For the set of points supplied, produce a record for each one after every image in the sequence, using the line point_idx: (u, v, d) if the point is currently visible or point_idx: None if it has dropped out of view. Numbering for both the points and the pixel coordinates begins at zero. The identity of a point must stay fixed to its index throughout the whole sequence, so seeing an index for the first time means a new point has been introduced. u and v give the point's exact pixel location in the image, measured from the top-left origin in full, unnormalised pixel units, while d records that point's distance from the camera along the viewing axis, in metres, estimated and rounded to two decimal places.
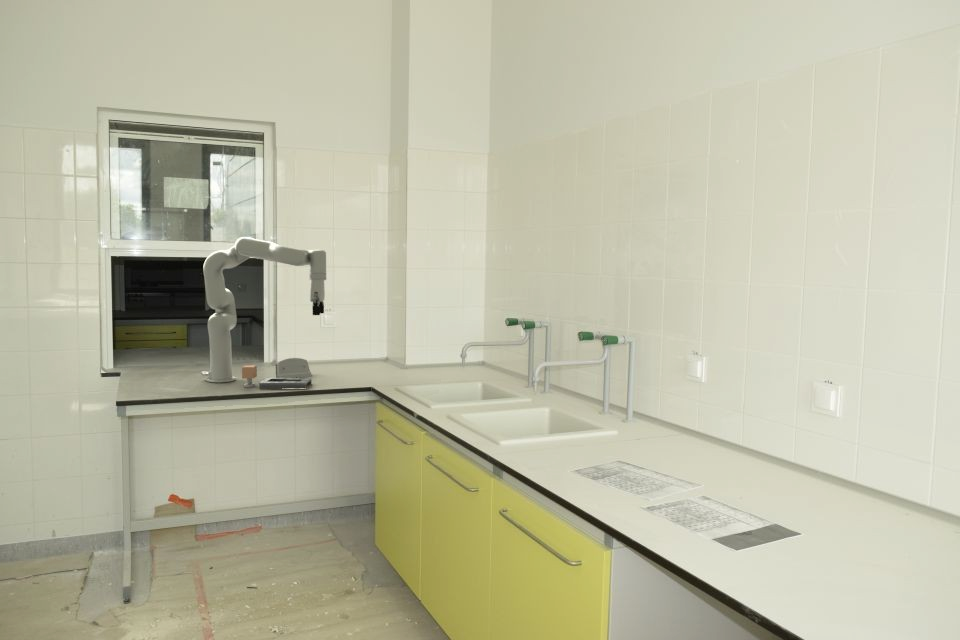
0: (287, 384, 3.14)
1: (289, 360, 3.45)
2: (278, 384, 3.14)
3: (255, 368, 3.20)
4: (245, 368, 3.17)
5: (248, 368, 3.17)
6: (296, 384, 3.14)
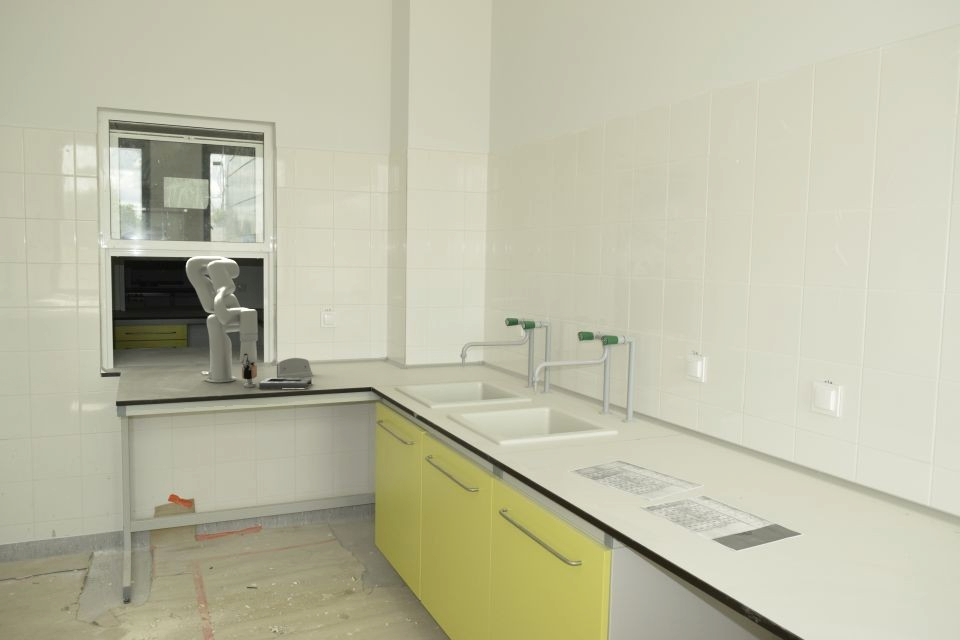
0: (287, 384, 3.14)
1: (290, 360, 3.45)
2: (278, 384, 3.14)
3: (255, 368, 3.20)
4: None
5: None
6: (296, 384, 3.14)
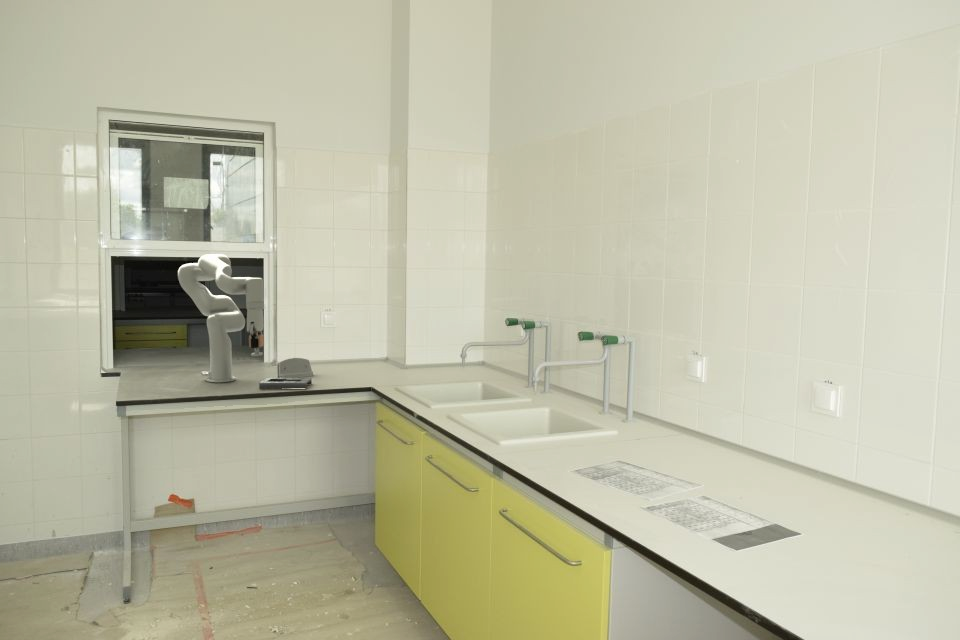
0: (287, 384, 3.14)
1: (291, 360, 3.45)
2: (278, 384, 3.14)
3: (262, 337, 3.19)
4: None
5: None
6: (296, 384, 3.14)
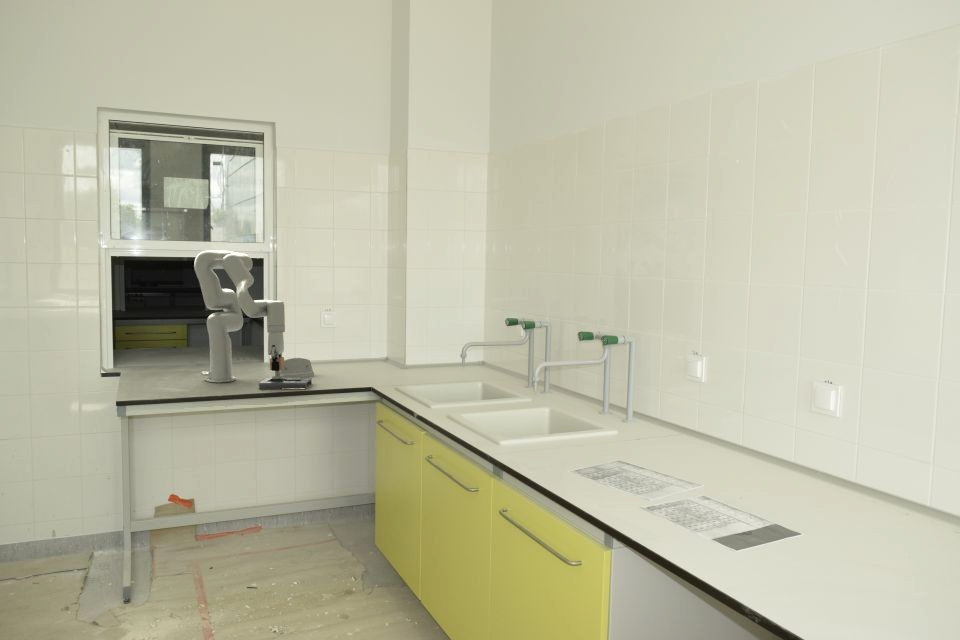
0: (287, 384, 3.14)
1: (292, 360, 3.45)
2: (278, 384, 3.14)
3: (283, 360, 3.20)
4: None
5: None
6: (296, 384, 3.14)
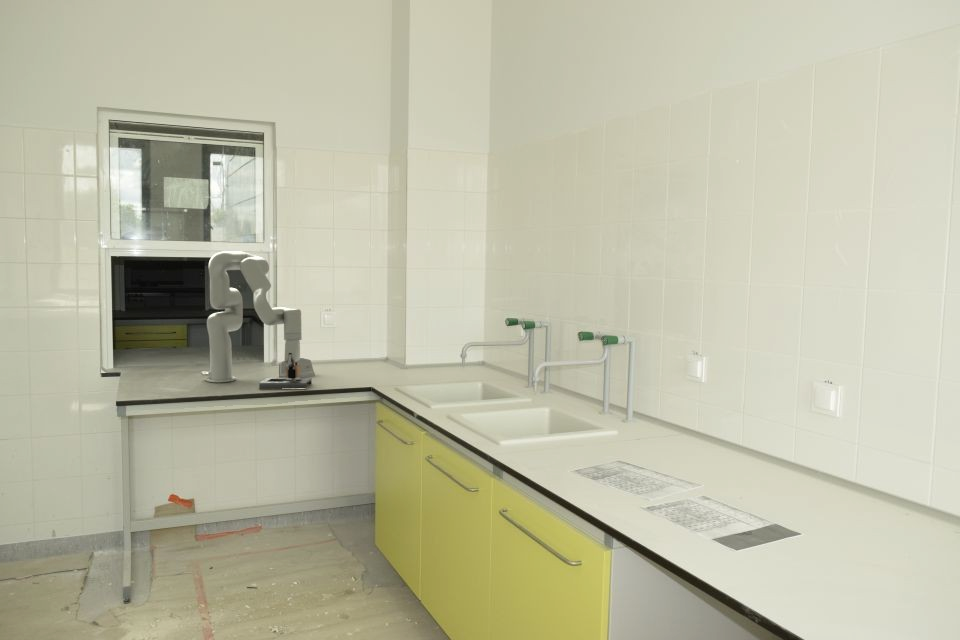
0: (287, 384, 3.14)
1: None
2: (278, 384, 3.14)
3: (299, 367, 3.21)
4: None
5: None
6: (296, 384, 3.14)
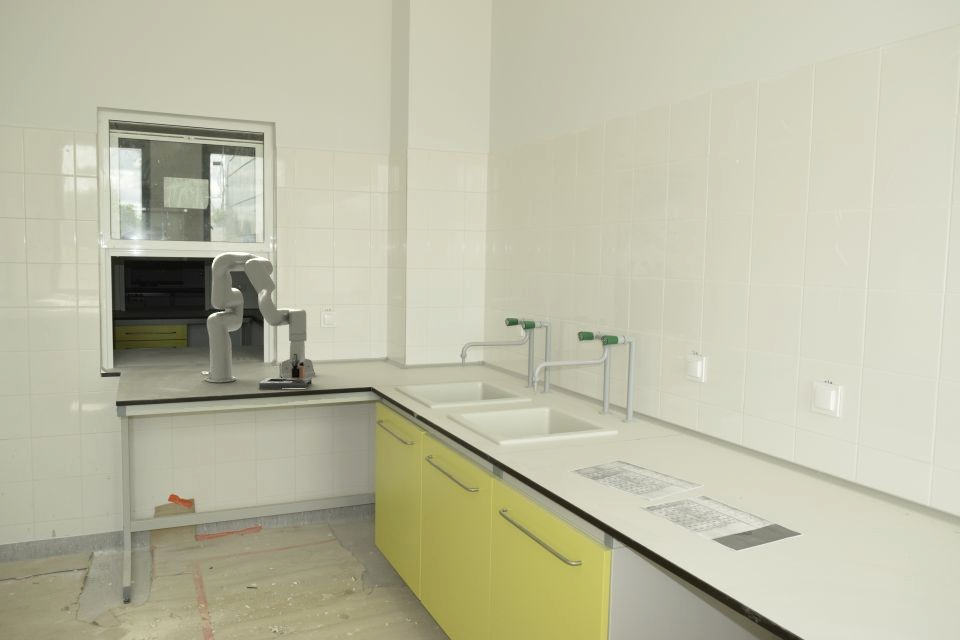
0: (287, 384, 3.14)
1: None
2: (278, 384, 3.14)
3: (304, 368, 3.21)
4: None
5: None
6: (296, 384, 3.14)
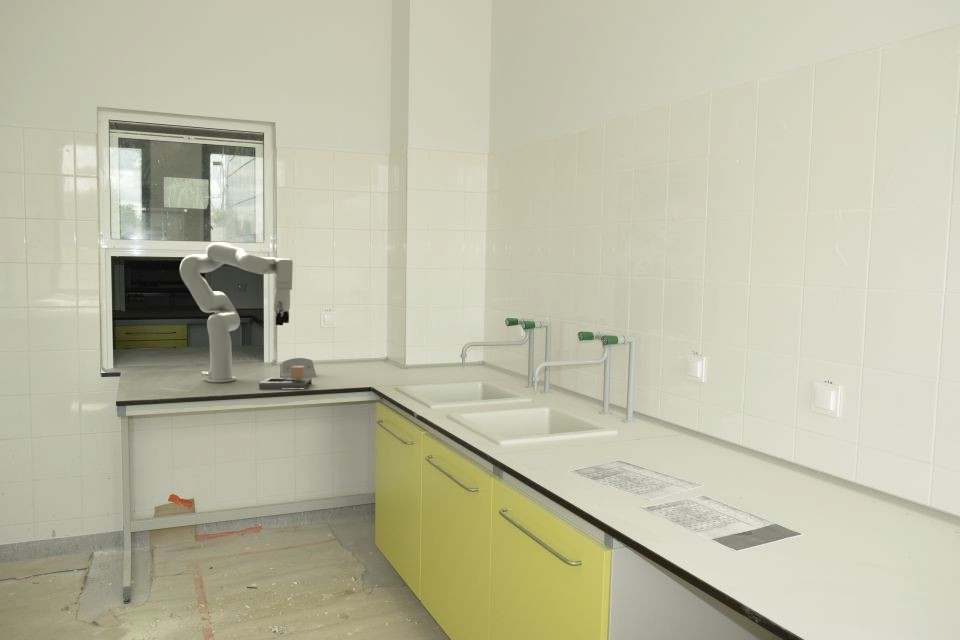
0: (287, 384, 3.14)
1: (294, 360, 3.45)
2: (278, 384, 3.14)
3: (304, 368, 3.21)
4: (294, 368, 3.17)
5: (297, 368, 3.17)
6: (296, 384, 3.14)
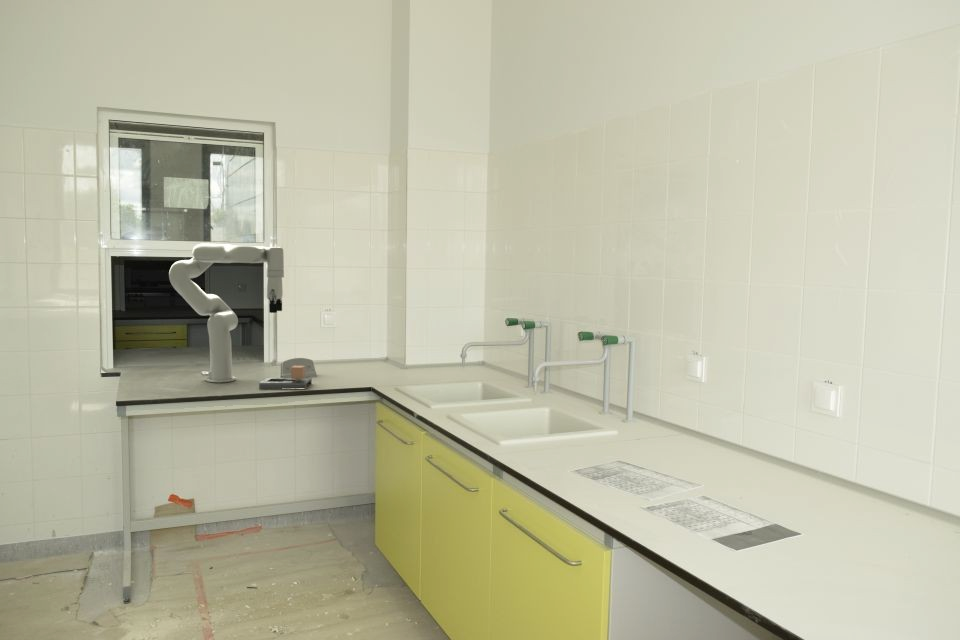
0: (287, 384, 3.14)
1: (294, 360, 3.45)
2: (278, 384, 3.14)
3: (304, 368, 3.21)
4: (294, 368, 3.17)
5: (297, 368, 3.17)
6: (296, 384, 3.14)
